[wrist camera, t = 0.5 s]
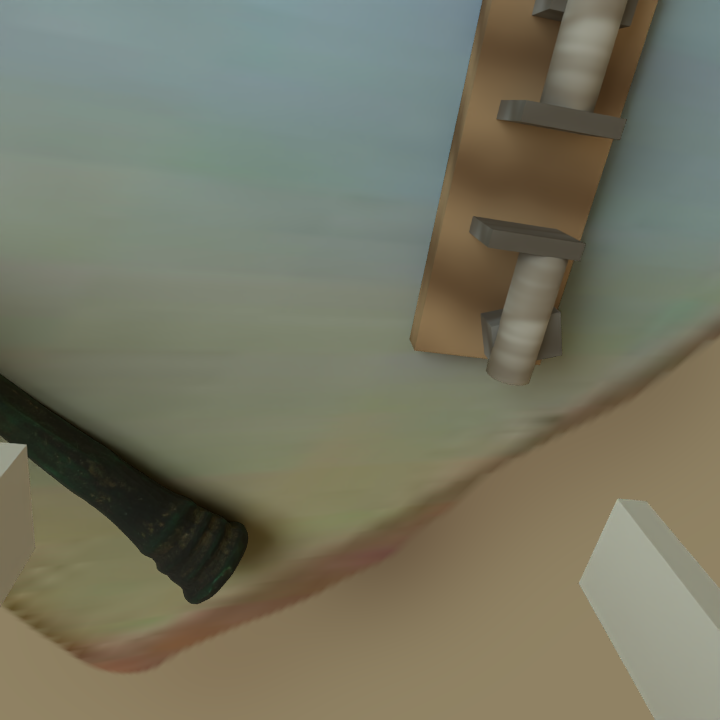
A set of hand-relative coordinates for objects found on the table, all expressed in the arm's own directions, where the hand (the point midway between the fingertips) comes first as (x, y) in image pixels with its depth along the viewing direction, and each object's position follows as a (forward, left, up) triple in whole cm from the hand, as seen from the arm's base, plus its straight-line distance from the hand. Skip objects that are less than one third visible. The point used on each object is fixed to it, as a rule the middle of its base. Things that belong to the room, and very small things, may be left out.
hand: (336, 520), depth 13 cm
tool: (+18, -15, -27) cm, 35 cm away
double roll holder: (-7, +12, -26) cm, 29 cm away
